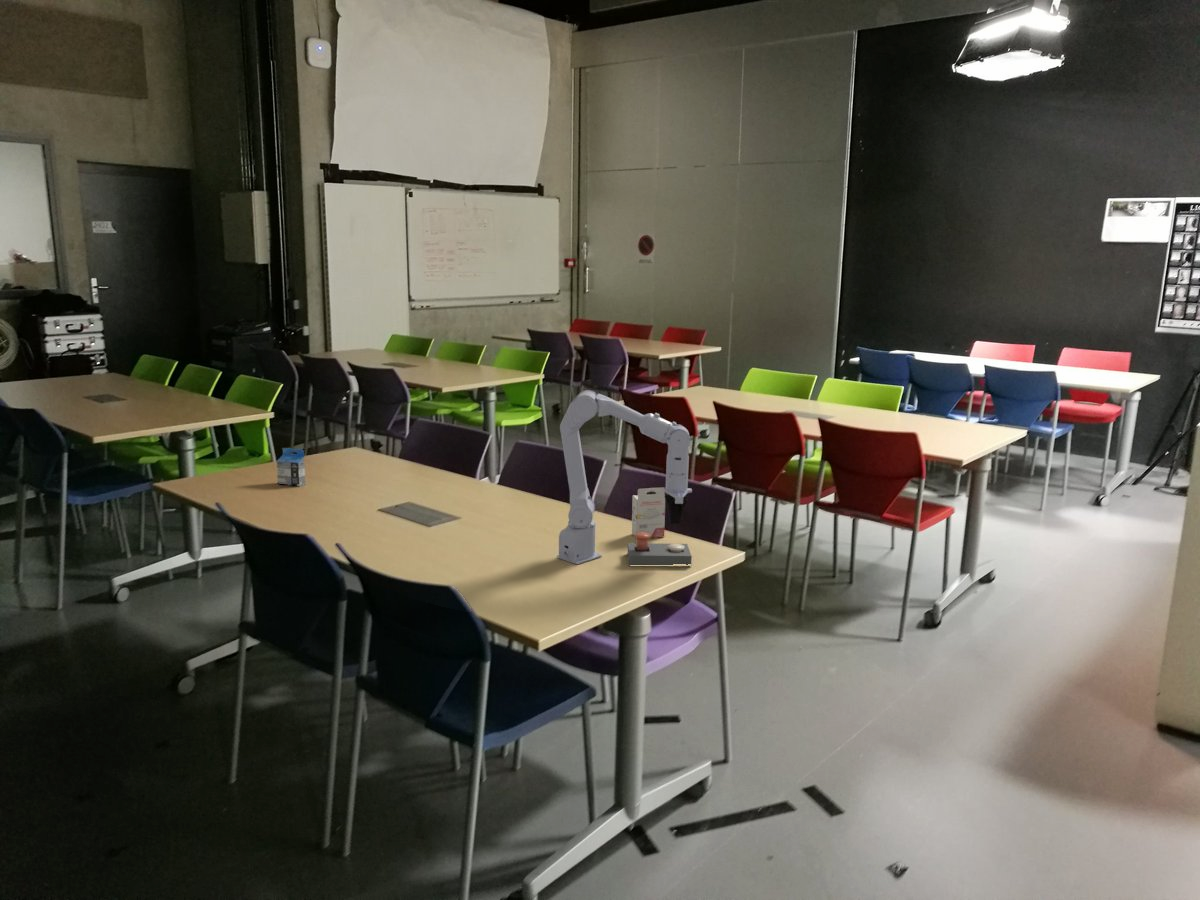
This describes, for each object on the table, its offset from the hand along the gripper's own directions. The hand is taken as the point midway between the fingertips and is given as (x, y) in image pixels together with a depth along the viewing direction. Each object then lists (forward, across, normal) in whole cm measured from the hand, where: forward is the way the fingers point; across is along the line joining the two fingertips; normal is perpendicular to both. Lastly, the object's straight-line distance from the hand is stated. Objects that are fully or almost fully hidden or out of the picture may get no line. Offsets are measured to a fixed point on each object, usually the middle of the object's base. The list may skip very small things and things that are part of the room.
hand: (675, 523), depth 230 cm
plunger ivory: (+10, 0, -1) cm, 10 cm away
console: (+10, 0, +4) cm, 11 cm away
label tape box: (+11, +74, +124) cm, 145 cm away
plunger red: (+7, 0, +8) cm, 11 cm away
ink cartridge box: (+11, +21, +5) cm, 24 cm away
